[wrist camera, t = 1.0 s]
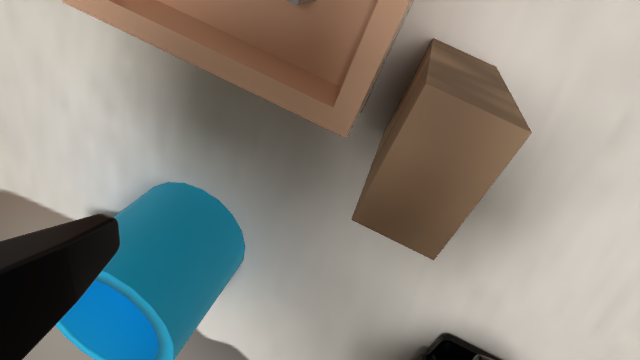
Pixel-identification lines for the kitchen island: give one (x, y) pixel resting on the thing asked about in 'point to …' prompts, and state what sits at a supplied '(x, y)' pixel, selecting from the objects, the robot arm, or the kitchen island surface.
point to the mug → (158, 276)
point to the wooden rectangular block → (440, 150)
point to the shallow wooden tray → (273, 46)
